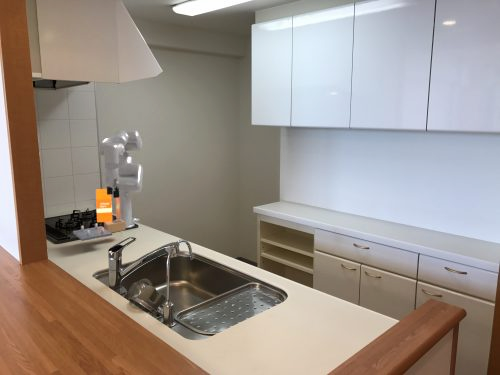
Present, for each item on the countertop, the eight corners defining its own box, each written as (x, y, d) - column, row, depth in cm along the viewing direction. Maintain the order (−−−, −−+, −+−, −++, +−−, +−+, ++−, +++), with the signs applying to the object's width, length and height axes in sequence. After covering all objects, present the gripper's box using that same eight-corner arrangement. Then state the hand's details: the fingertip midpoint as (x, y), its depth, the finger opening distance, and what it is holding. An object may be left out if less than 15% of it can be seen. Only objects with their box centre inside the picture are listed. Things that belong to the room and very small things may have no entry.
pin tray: (101, 228, 237) (101, 221, 236) (112, 235, 225) (112, 227, 224) (73, 233, 227) (72, 225, 226) (82, 240, 215) (81, 233, 214)
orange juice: (97, 219, 260) (96, 188, 257) (112, 218, 263) (110, 187, 259) (97, 222, 253) (95, 190, 249) (112, 221, 256) (110, 190, 252)
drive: (121, 227, 243) (120, 219, 242) (125, 230, 239) (124, 221, 238) (104, 230, 237) (103, 222, 236) (108, 233, 233) (107, 224, 232)
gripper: (99, 164, 235) (101, 194, 238) (110, 168, 222) (112, 199, 225) (112, 164, 239) (113, 192, 243) (124, 167, 226) (125, 197, 230)
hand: (113, 196), depth 234 cm, fingers open, 9 cm apart
